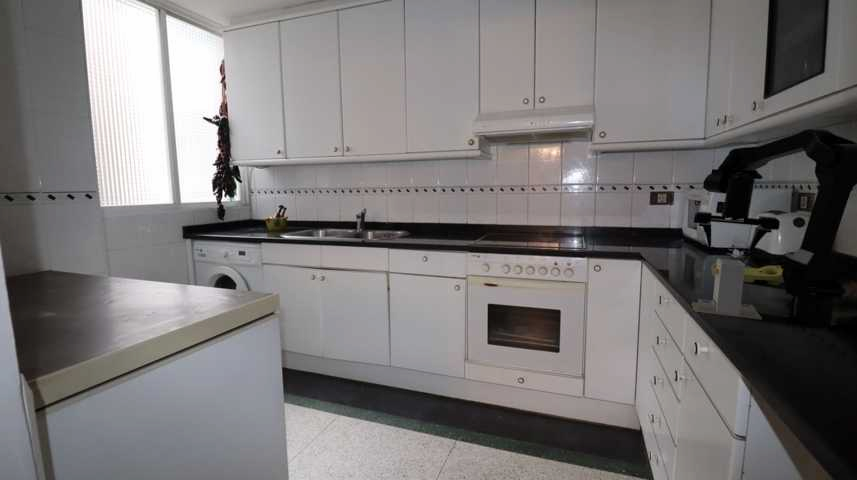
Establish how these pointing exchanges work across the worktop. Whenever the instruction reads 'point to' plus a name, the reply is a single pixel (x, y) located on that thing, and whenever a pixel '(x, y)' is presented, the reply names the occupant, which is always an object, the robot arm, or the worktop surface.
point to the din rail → (710, 307)
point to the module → (728, 285)
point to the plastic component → (760, 274)
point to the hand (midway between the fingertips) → (729, 250)
